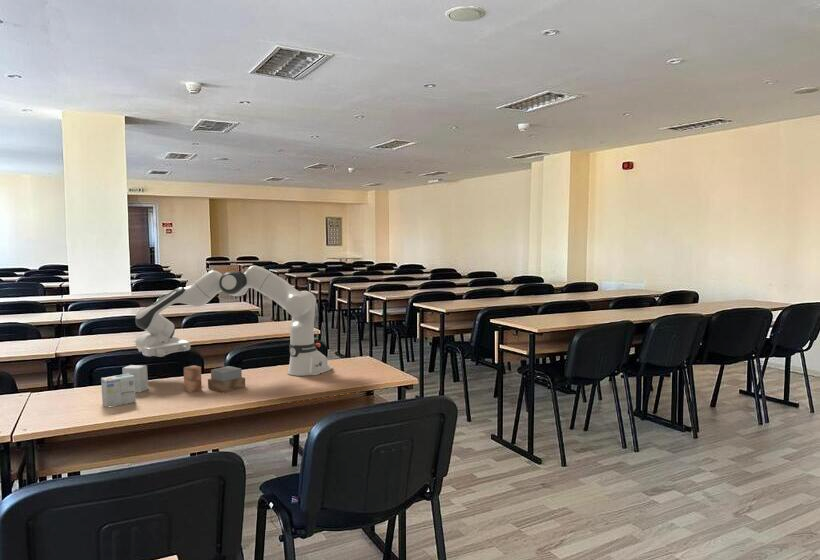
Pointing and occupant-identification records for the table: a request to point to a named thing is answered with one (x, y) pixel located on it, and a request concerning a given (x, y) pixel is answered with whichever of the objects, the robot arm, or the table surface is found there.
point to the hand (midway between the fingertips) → (175, 350)
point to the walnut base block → (226, 384)
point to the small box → (138, 376)
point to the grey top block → (226, 373)
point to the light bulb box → (118, 390)
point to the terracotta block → (192, 378)
